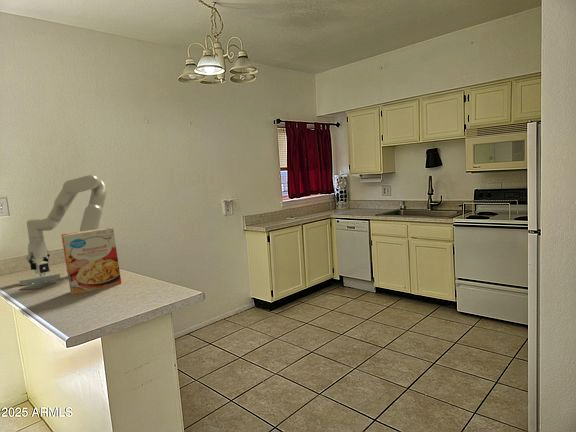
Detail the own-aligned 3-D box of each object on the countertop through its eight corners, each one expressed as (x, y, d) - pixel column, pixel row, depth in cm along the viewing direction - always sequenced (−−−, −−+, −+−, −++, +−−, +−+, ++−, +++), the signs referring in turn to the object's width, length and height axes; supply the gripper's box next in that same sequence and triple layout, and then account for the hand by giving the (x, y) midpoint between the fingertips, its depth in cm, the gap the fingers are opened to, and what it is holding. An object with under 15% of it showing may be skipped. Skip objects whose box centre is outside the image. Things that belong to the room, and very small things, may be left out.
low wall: (60, 278, 230) (59, 273, 230) (60, 279, 229) (59, 274, 229) (20, 285, 222) (19, 280, 222) (20, 285, 221) (19, 280, 221)
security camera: (40, 280, 230) (37, 264, 229) (35, 279, 234) (32, 263, 233) (51, 277, 235) (49, 261, 234) (47, 276, 239) (44, 260, 238)
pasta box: (73, 295, 192) (63, 235, 188) (70, 291, 198) (61, 234, 195) (121, 283, 205) (113, 228, 202) (117, 281, 212) (109, 227, 208)
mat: (55, 282, 221) (54, 281, 221) (38, 289, 210) (38, 288, 209) (36, 283, 223) (36, 282, 223) (19, 290, 211) (19, 289, 211)
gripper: (42, 237, 241) (45, 264, 243) (19, 242, 224) (23, 271, 226) (52, 237, 240) (56, 264, 242) (30, 242, 223) (34, 271, 225)
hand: (40, 267), depth 234 cm, fingers open, 9 cm apart
